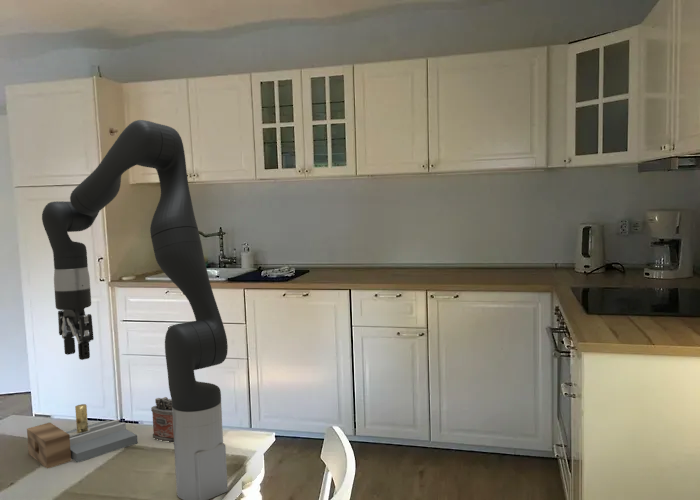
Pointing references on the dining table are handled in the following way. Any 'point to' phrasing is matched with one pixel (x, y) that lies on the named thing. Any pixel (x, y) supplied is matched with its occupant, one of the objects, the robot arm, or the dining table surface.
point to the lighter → (163, 419)
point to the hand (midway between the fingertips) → (77, 356)
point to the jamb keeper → (49, 445)
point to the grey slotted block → (101, 440)
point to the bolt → (81, 421)
